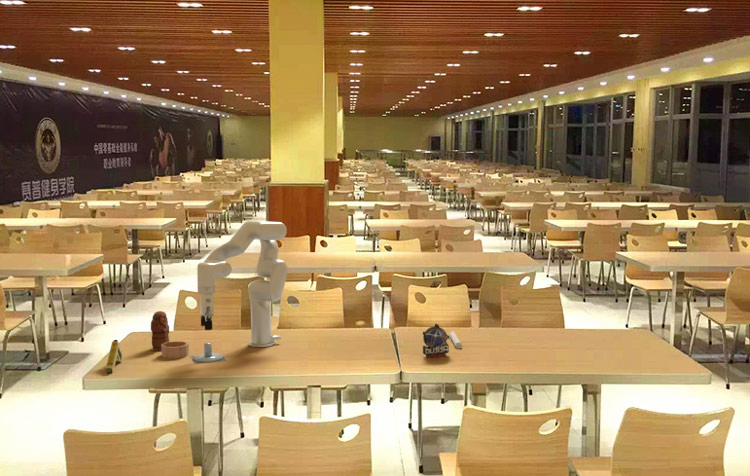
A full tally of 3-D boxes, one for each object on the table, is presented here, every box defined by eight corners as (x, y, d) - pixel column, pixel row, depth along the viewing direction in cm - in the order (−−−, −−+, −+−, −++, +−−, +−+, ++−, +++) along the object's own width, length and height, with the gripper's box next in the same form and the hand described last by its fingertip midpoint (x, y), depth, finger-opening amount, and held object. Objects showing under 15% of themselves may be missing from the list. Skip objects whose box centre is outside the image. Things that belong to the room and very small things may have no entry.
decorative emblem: (446, 354, 381) (446, 322, 379) (448, 355, 379) (448, 323, 377) (422, 356, 377) (422, 324, 376) (424, 358, 375) (424, 325, 373)
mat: (220, 354, 384) (220, 353, 384) (226, 361, 371) (226, 360, 371) (190, 357, 379) (190, 356, 379) (195, 364, 366) (195, 363, 366)
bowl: (186, 351, 389) (185, 340, 388) (190, 357, 378) (190, 345, 377) (160, 354, 384) (159, 342, 384) (163, 360, 373) (163, 348, 373)
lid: (219, 353, 383) (219, 338, 382) (225, 360, 371) (225, 345, 370) (191, 356, 378) (191, 341, 378) (196, 363, 366) (195, 347, 366)
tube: (448, 337, 417) (455, 349, 393) (448, 330, 417) (455, 342, 392) (454, 336, 418) (461, 348, 393) (454, 330, 417) (461, 342, 392)
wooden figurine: (163, 351, 389) (162, 314, 387) (150, 351, 390) (149, 313, 388) (172, 345, 401) (170, 309, 399) (159, 345, 401) (157, 308, 399)
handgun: (122, 355, 373) (118, 336, 366) (115, 387, 358) (111, 368, 351) (116, 356, 373) (112, 336, 365) (109, 387, 358) (105, 368, 350)
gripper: (218, 292, 364) (218, 331, 366) (210, 286, 380) (211, 323, 382) (201, 293, 362) (201, 332, 363) (194, 287, 378) (194, 324, 379)
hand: (206, 327), depth 373 cm, fingers open, 9 cm apart
